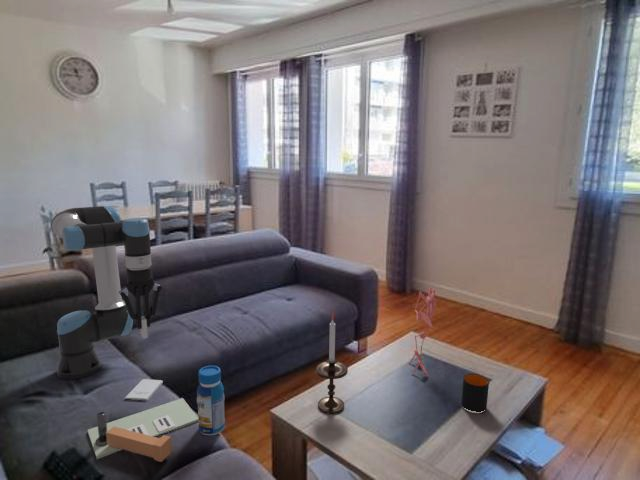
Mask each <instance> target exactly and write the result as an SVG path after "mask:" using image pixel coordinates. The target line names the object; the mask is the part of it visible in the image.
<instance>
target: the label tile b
mask: <svg viewBox="0 0 640 480" xmlns="http://www.w3.org/2000/svg"><path fill="white" fill-rule="evenodd" d="M152 421H153V423H154V425H155V426H156V428H157V430H158V432H162V431H165V430H167V429H170V428H173V427H175V425H174V423H173V422H172V420H171V419H170V417H169V416H168V415H167V416H164V417H161V418H158V419H155V420H152Z"/></svg>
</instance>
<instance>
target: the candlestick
mask: <svg viewBox="0 0 640 480" xmlns="http://www.w3.org/2000/svg"><path fill="white" fill-rule="evenodd" d="M331 314H332V315H331V322H330V323H329V337H328V338H329V344H328V345H329V347H328V348H329V349H328V353H329V354H328V358H327V359H326V360H325V361H321V362H318V364H317V365H316V366H315V373H316V375H318V376H319V377H321V378H322V379H327V380H329V384H327V389H328V391H327V395H328V396H325V397H322V398H321V399H320V400H318V403H317V408H318V410H319V409H320V410H321V411H320V410H319V411H320V412H322V413H323V412H324V414H326V413H329V414H328V415H336V413H337V414H340V413H341V412H343V411H344V409H345V402H344V401H343V400H342V399H341V398H338V397H335V394H336V392H335V389H336V385H335V384H334V380H338V379H342V378H344V377H345V376H347V374H348V370H349V369H348V366H347V365H346V364H345V363H343V362H341V361H338V359H336V358H335V357H336V356H335V355H336V351H335V350H336V347H335V346H336V322H335V321H334V319H335V310H333V311H332V312H331ZM334 413H335V414H334Z"/></svg>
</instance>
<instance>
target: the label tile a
mask: <svg viewBox="0 0 640 480" xmlns="http://www.w3.org/2000/svg"><path fill="white" fill-rule="evenodd" d="M127 430H130V431H134V432H137V433H141V434H145V435H148V433H147V431H146V429H145V427H144V425H143V424H141V425H138V426H135V427H132V428H130V429H127Z"/></svg>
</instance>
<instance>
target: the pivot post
mask: <svg viewBox="0 0 640 480" xmlns="http://www.w3.org/2000/svg"><path fill="white" fill-rule="evenodd" d="M96 423H97V426H98V434H99V438H97V439H96V445H97V446H105V445H107V437H106V432H107V423H108V422H107V414H106V412H105V411H101V412H98V413H97V414H96Z"/></svg>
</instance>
